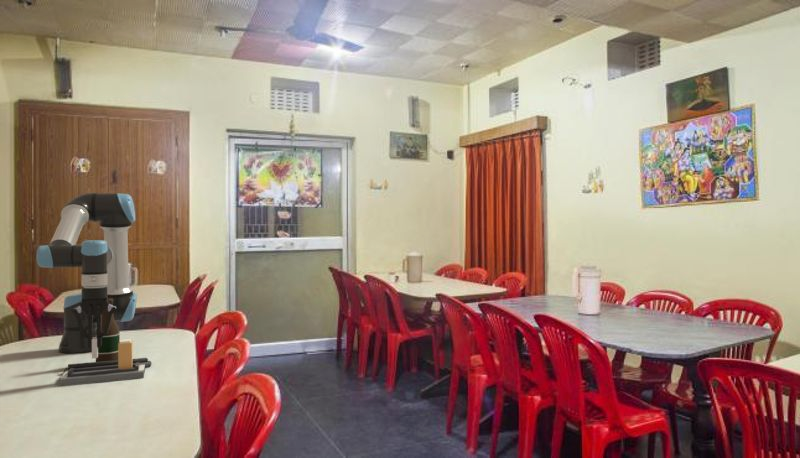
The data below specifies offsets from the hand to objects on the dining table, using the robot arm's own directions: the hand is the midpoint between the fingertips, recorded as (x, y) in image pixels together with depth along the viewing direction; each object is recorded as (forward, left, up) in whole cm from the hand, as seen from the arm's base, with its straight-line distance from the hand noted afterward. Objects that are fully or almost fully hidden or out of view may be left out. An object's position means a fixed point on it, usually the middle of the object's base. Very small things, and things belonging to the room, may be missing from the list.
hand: (94, 357), depth 181 cm
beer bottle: (-20, +2, -7) cm, 21 cm away
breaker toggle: (0, +9, -5) cm, 10 cm away
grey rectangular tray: (0, +3, -7) cm, 7 cm away
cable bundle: (-10, +3, -7) cm, 12 cm away
